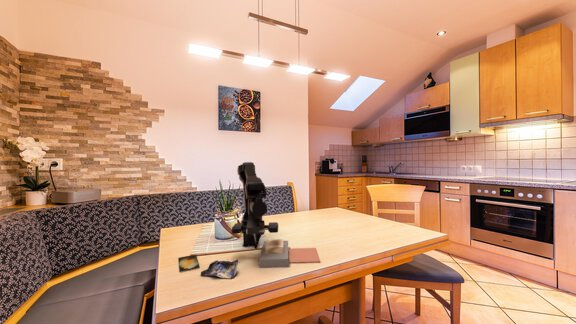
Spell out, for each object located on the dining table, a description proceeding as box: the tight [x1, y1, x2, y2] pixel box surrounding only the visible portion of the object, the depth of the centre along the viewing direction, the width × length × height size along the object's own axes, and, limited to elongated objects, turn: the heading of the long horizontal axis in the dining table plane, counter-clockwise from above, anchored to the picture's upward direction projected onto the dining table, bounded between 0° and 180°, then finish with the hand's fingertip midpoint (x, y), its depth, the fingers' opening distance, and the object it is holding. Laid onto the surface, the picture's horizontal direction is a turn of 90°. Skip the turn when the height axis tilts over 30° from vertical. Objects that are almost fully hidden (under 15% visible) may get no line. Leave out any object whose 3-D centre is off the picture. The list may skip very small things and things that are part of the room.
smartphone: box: [177, 254, 201, 274], centre depth 94 cm, size 7×1×15 cm
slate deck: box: [258, 240, 290, 269], centre depth 99 cm, size 11×20×3 cm, turn 0°
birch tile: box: [265, 238, 284, 254], centre depth 99 cm, size 7×9×2 cm
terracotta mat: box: [288, 247, 321, 264], centre depth 99 cm, size 12×14×1 cm
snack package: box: [200, 258, 239, 279], centre depth 85 cm, size 12×7×12 cm
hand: (256, 248), depth 99 cm, fingers closed
